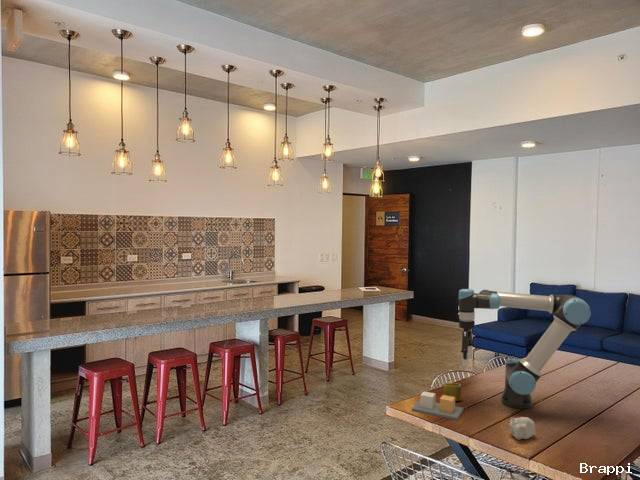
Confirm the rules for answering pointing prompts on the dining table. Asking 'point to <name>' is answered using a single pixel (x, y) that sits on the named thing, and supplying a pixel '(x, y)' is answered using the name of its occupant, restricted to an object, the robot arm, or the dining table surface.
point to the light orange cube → (447, 404)
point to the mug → (452, 390)
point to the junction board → (434, 407)
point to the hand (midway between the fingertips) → (467, 362)
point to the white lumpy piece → (522, 427)
